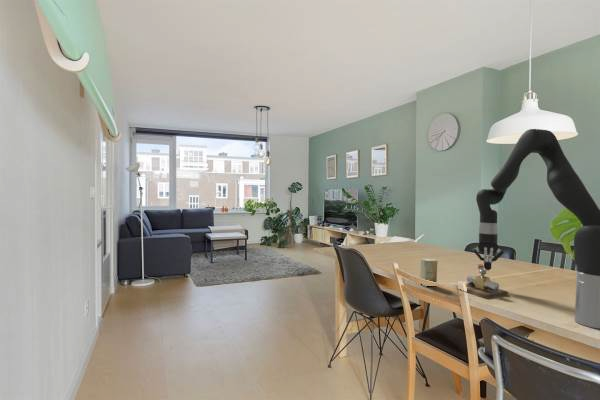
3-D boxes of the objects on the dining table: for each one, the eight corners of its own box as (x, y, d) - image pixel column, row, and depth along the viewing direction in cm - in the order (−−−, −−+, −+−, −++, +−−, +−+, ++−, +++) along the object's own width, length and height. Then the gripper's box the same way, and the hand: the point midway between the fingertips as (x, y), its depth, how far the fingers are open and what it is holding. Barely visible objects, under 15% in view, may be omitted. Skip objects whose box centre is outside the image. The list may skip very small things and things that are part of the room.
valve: (499, 293, 140) (500, 277, 140) (492, 294, 138) (493, 278, 138) (472, 285, 152) (473, 270, 152) (465, 285, 150) (466, 270, 150)
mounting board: (507, 294, 143) (507, 291, 143) (485, 298, 137) (485, 294, 137) (478, 286, 156) (478, 282, 155) (456, 289, 150) (456, 285, 150)
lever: (486, 274, 143) (486, 271, 143) (479, 274, 144) (479, 270, 144) (483, 268, 156) (483, 264, 156) (476, 267, 157) (477, 264, 157)
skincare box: (425, 287, 152) (426, 260, 152) (419, 284, 156) (420, 258, 156) (437, 286, 154) (438, 260, 153) (431, 283, 158) (431, 258, 157)
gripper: (503, 232, 155) (502, 269, 155) (471, 231, 159) (470, 267, 160) (506, 234, 148) (505, 273, 148) (473, 232, 152) (472, 270, 153)
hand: (487, 269), depth 154 cm, fingers closed
